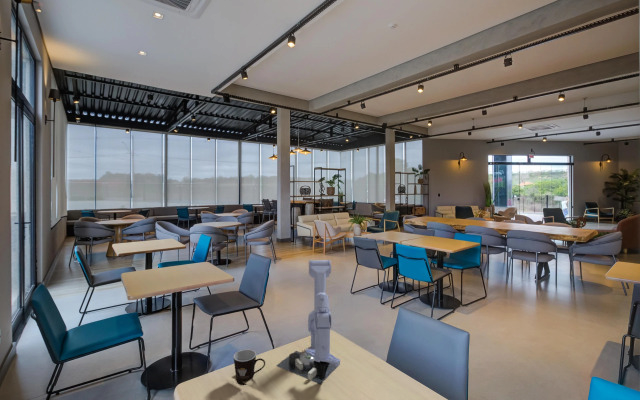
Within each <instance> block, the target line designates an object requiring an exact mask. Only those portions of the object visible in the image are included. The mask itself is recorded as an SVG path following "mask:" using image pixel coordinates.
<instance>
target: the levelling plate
mask: <svg viewBox="0 0 640 400" xmlns="http://www.w3.org/2000/svg"><path fill="white" fill-rule="evenodd" d="M293 353H298V354H299V359H300V360H301V361H302V362H303V369H302V370H300V369H299V368H298V367H297V366H296V365H295V366H293V365H290V364H289V356H287V357H286V358H285V359H283V360H281V361H280V362H279V363H278V364H276V365H275V366H276V367H278V368H280V369H283V370H286V371H287V372H289V373H292V374H295V375H297V376H300V377H302V378H305V379H306V380H309V379H308V372H309V371H310V370H311V369H312V368H313V362H314V361H315V358H313V357H312V356H309V355H308V356H306V355H305V352H300V351H297V350H295V351H294V352H293ZM337 368H338V367H336V366H335V365H334V364H331V363H330V364H329V366H328V368H327V371H326V375H325V378H324V379H323V380H320V379H319V375H316V376H315V377H314V378H313V379H312V380H310V381H311V382H313V383H316V384H319V385H321V384H323V383H324V382H325V381H326V380H327V378H329V376H330V375H331V374H332V373H334V371H336V369H337Z"/></svg>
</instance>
